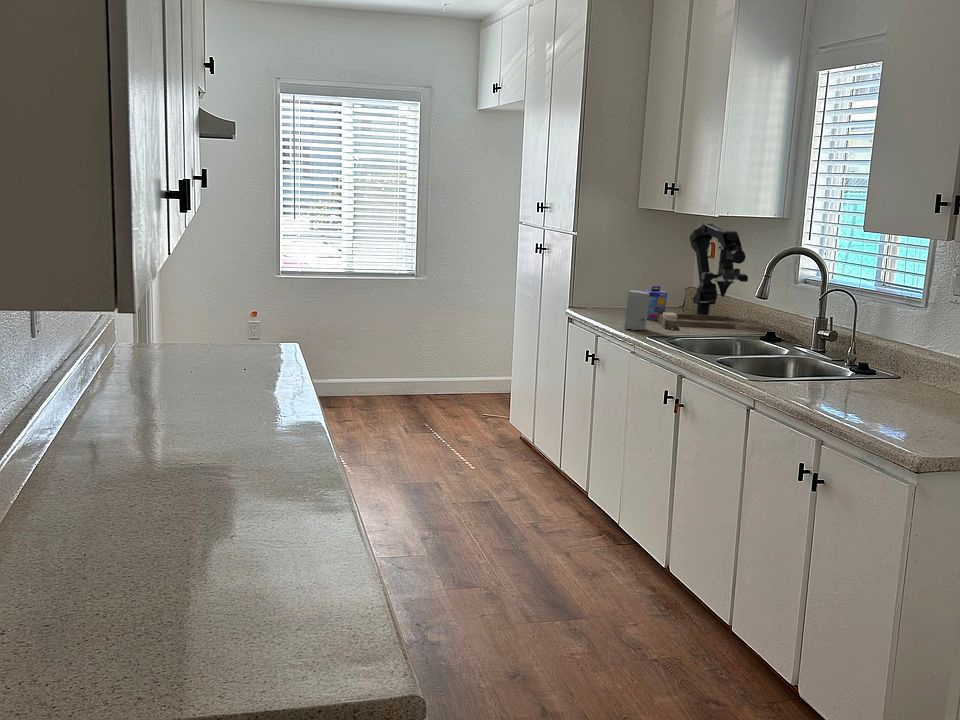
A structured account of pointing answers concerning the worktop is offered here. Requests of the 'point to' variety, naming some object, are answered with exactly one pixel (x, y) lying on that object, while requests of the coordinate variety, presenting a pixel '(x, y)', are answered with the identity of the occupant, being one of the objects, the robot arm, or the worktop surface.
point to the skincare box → (636, 310)
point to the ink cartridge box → (656, 302)
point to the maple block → (670, 316)
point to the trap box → (686, 321)
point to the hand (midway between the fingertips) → (722, 296)
